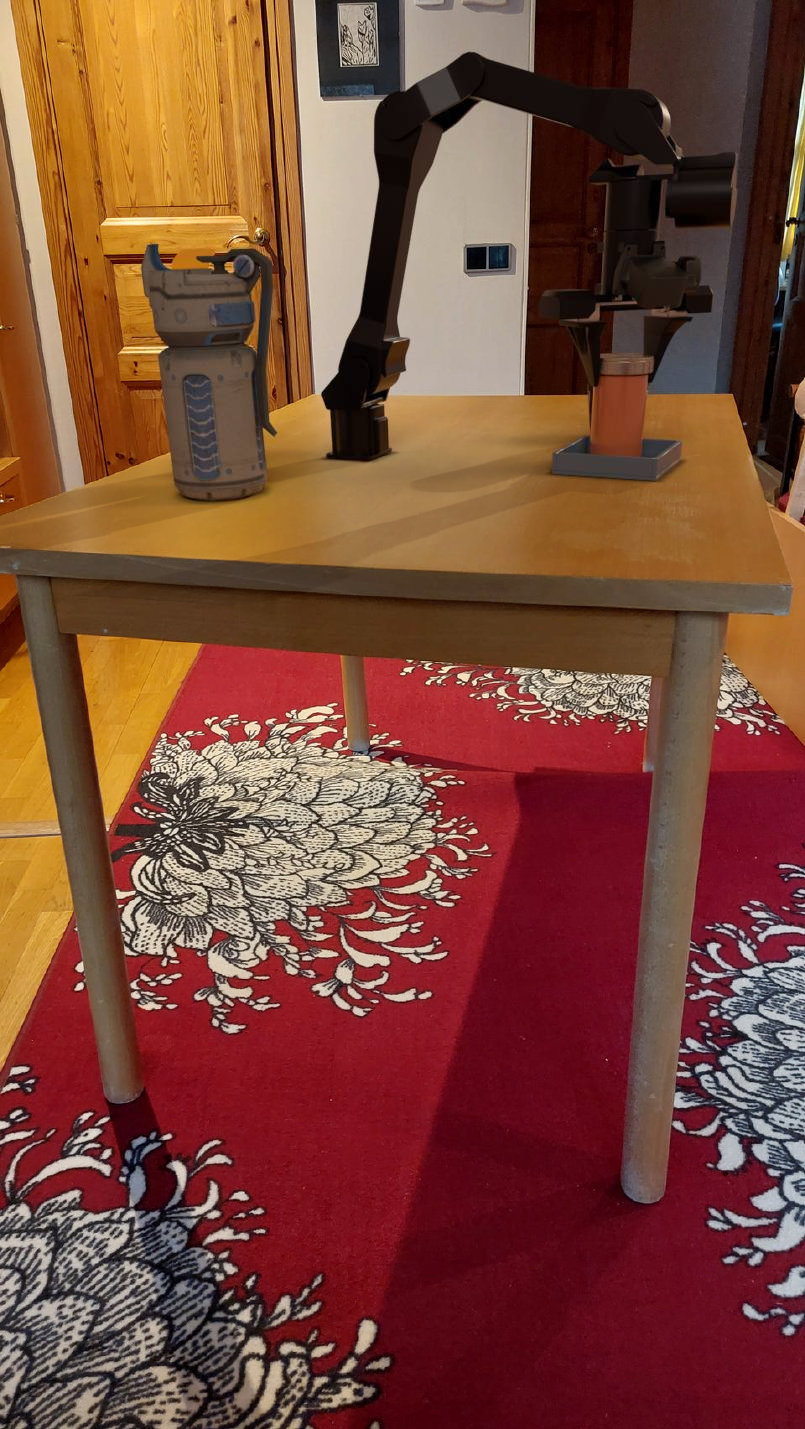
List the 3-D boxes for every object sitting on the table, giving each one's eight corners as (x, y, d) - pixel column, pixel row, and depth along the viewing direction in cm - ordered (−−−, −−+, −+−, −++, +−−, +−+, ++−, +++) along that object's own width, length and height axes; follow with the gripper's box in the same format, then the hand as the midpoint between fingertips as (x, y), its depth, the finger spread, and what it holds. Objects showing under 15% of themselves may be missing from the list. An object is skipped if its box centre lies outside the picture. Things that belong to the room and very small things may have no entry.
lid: (613, 376, 106) (614, 360, 106) (578, 370, 112) (579, 355, 112) (665, 372, 109) (667, 356, 108) (628, 367, 115) (630, 352, 114)
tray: (551, 474, 113) (552, 452, 112) (583, 455, 122) (584, 435, 121) (656, 481, 108) (657, 459, 107) (680, 460, 117) (682, 440, 116)
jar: (607, 470, 111) (615, 363, 106) (578, 461, 116) (584, 358, 111) (651, 465, 113) (660, 360, 109) (621, 456, 118) (628, 356, 114)
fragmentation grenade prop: (278, 503, 103) (256, 240, 92) (157, 504, 105) (121, 244, 94) (298, 482, 112) (280, 240, 102) (185, 483, 114) (156, 244, 103)
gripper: (588, 230, 95) (580, 398, 101) (753, 227, 100) (734, 387, 107) (539, 233, 104) (534, 387, 111) (691, 230, 110) (678, 377, 116)
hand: (621, 384), depth 111 cm, fingers closed on lid, 6 cm apart
